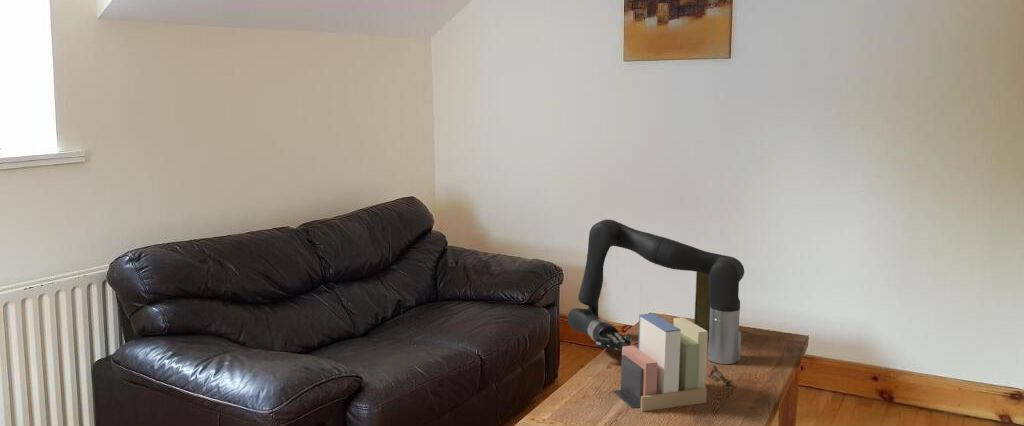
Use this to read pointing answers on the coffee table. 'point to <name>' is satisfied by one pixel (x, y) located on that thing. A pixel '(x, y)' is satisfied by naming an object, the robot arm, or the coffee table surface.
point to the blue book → (661, 349)
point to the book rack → (689, 370)
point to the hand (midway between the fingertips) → (626, 349)
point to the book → (702, 302)
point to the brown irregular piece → (727, 382)
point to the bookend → (630, 383)
